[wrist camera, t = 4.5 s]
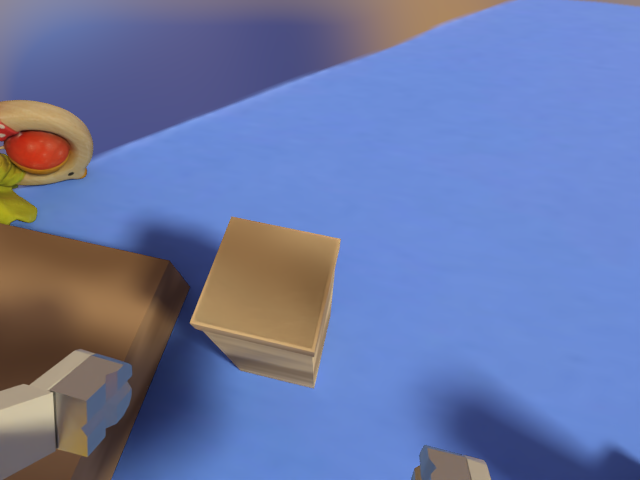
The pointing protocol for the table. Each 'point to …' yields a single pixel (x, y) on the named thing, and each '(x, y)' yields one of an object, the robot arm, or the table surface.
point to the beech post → (270, 299)
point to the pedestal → (82, 326)
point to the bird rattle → (38, 152)
